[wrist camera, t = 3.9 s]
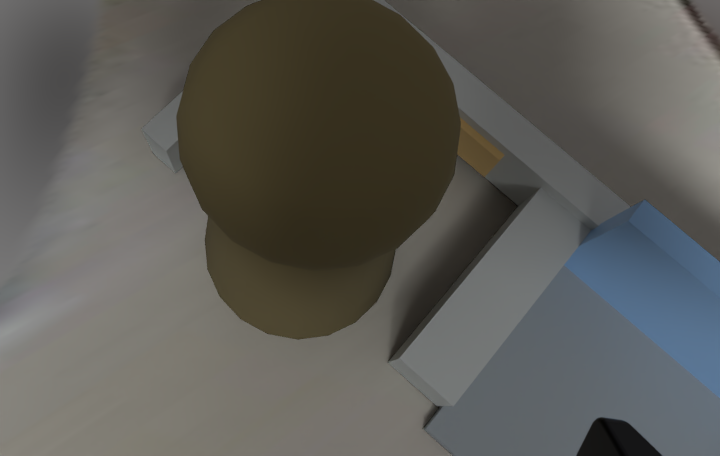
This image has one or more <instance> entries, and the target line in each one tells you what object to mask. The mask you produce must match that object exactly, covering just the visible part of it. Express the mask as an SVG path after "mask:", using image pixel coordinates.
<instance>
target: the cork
mask: <svg viewBox="0 0 720 456" xmlns="http://www.w3.org/2000/svg"><path fill="white" fill-rule="evenodd" d="M176 121H177V133H178V145H179V157H180V161H181V163H182V166H183V168H184V170H185V172H186V175H187V177H188V179H189V181H190V184H191V186H192V188H193V190H194V192H195V195H196V197H197V199H198V201H199V204H200V206H201V208H202V210H203V211H204V212H205V213H206V214H207V215H208V222H207V229H206V236H205V246H206V257H207V268H208V271H209V273H210V276H211V278H212V280H213V282H214V285H215V287H216V289H217V291H218V294H219V296H220V297H221V298H222V299H223V301H224V302H225V303H226V304H227V305H228V306H229V307H230V308H231V309H232V310H233V311H234V312H235V314H236V315H237V316H238V317H239V318H240V319H242V320H243V321H245V322H247V323H249V324H251V325H252V326H254V327H256V328H258V329H260V330H262V331H263V332H265V333H267V334H272V335H277V336H282V337H288V338H293V339H304V338H312V337H320V336H327V335H330V334H332V333H334V332H336V331H338V330H340V329H342V328H345V327H347V326H349V325H351V324H353V323H355V322H356V321H357V320H358V319H359V318H360V317H361V316H362V315H363V314H364V313H366V312H367V311H368V310H369V309H370V308H371V307H372V306H373V305H374V304H375V303H376V302H377V300H378V298H379V296H380V295H381V293H382V291H383V289H384V287H385V285H386V283H387V281H388V279H389V277H390V275H391V269H392V264H393V259H394V254H395V249H396V248H398V247H399V246H400V245H401V244H402V243H403V242H404V241H406V240H407V239H408V238H409V237H410V236H411V235H412V234H413V233H414V232H415V231H416V230H417V229H418V228H419V227H420V226H421V225H422V224H424V223H425V222H426V221H427V220H428V219H429V218H430V216H431V215H432V214H433V213H434V212H435V211H436V209H437V207H438V205H439V203H440V201H441V199H442V197H443V195H444V193H445V191H446V189H447V188H448V186H449V184H450V182H451V180H452V178H453V176H454V172H455V165H456V158H457V151H458V144H459V137H460V127H461V121H460V115H459V110H458V105H457V100H456V94H455V89H454V84H453V82H452V80H451V78H450V76H449V74H448V72H447V71H446V69H445V67H444V65H443V63H442V61H441V60H440V58H439V56H438V54H437V52H436V50H435V49H434V47H433V46H432V45H431V44H430V43H429V42H428V41H427V40H426V39H425V38H424V37H423V36H422V35H421V34H420V33H419V32H417V31H416V30H415V29H414V28H413V27H412V26H411V25H410V24H409V23H408V22H407V21H406V20H405V19H404V18H403V17H402V16H401V15H400V14H398V13H396V12H394V11H392V10H390V9H389V8H387V7H385V6H383V5H381V4H379V3H378V2H376V1H374V0H261V1H258V2H255V3H253V4H250V5H248V6H246V7H244V8H243V9H242V10H240V11H239V12H238V13H236V14H235V15H234V16H232V17H231V18H230V19H228V20H227V21H226V22H224V23H223V24H222V25H220V26H219V27H218V28H216V29H215V30H214V31H213V32H212V34H211V35H210V36H209V38H208V39H207V41H206V42H205V44H204V45H203V47H202V48H201V50H200V51H199V52H198V54H197V55H196V57H195V58H194V60H193V61H192V63H191V64H190V67H189V71H188V75H187V78H186V82H185V86H184V89H183V93H182V97H181V101H180V104H179V108H178V112H177V115H176Z"/></svg>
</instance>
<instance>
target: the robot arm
mask: <svg viewBox="0 0 720 456" xmlns="http://www.w3.org/2000/svg"><path fill="white" fill-rule="evenodd" d="M576 456H663V455H662V454H661V453H659V452H658V451H657V450H656V449H655V448H654V447H653V446H652V445H651V444H650V443H649V442H648V441H647V440H646V439H645V438H644V437H643V436H642V435H641V434H640V433H639V432H638V431H637V430H636V429H635V428H634V427H633V426H632V425H630V424H629V423H628V422H626V421H624V420H619V419H612V418H605V417H599V418H597V419H596V420H594V421H593V423H592V425H591V427H590V429H589V431H588V433H587V435H586V437H585V439H584V440H583V442H582V444H581V446H580V448H579V450H578V452H577V455H576Z"/></svg>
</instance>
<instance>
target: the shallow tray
mask: <svg viewBox="0 0 720 456" xmlns="http://www.w3.org/2000/svg"><path fill="white" fill-rule="evenodd" d="M374 1H376V2H378V3H379V4H381V5H383V6H385V7H387V8H389V9H390V10H392V11H394V12H396V13H398V14H400V13H399V12H398V11H397V10H396V9H394V8H393V7H392V6H391V5H390V4H388V3H387V2H386V1H385V0H374ZM400 15H401V16H402V17H403V18H404V19H405V20H406V21H407V22H408V23H409V24H410V25H411V26H412V27H413V28H414V29H415V30H416V31H417V32H419V33H420V34H421V35H422V36H423V37H424V38H425V39H426V40H427V41H428V42H429V43H430V44H431V45H432V46H433V47H434V49H435V50H436V52H437V54H438V56H439V58H440V60H441V61H442V63H443V65H444V67H445V69H446V71H447V72H448V74H449V76H450V78H451V80H452V82H453V84H454V89H455V94H456V100H457V105H458V110H459V115H460V121H461V127H460V137H459V144H458V151H457V154H458V155H459V156H460V157H461V158H462V159H463V160H465V161H466V162H467V163H468V164H469V165H470V166H472V167H473V168H474V169H475V170H476V171H477V172H479V173H480V174H481V175H482V176H483V177H485V178H486V179H487V180H488V181H490V182H491V183H492V184H493V185H494V186H495V187H497V188H498V189H499V190H500V191H501V192H503V193H504V194H505V195H506V196H507V197H508V198H510V199H511V200H512V201H513V202H514V203H515V204H517V205H518V207H517V208H516V209H515V211H514V212H513V213H512V214H511V215H510V217H509V218H508V219H507V220H506V221H505V223H504V224H503V225H502V226H501V227H500V229H499V230H498V231H497V232H496V233H495V235H494V236H493V237H492V238H491V239H490V241H489V242H488V243H487V244H486V245H485V247H484V248H483V249H482V250H481V251H480V253H479V254H478V255H477V256H476V257H475V259H474V260H473V261H472V262H471V263H470V264H469V266H468V267H467V268H466V269H465V270H464V272H463V273H462V274H461V275H460V276H459V278H458V279H457V280H456V281H455V282H454V284H453V285H452V286H451V287H450V288H449V290H448V291H447V292H446V293H445V294H444V296H443V297H442V298H441V299H440V300H439V302H438V303H437V304H436V305H435V306H434V308H433V309H432V310H431V311H430V312H429V314H428V315H427V316H426V317H425V318H424V320H423V321H422V322H421V323H420V324H419V326H418V327H417V328H416V329H415V330H414V332H413V333H412V334H411V335H410V336H409V338H408V339H407V340H406V341H405V342H404V344H403V345H402V346H401V347H400V348H399V350H398V351H397V352H396V353H395V354H394V356H393V357H392V358H391V359H390V360H389V362H388V363H389V364H390V365H391V366H392V367H393V368H395V369H396V370H397V371H398V372H399V373H400V374H401V375H402V376H404V377H405V378H406V379H407V380H408V381H409V382H410V383H411V384H413V385H414V386H415V387H416V388H417V389H418V390H419V391H420V392H421V393H423V394H424V395H425V396H426V397H427V398H428V399H429V400H430V401H432V402H433V403H434V404H435V405H436V406H441V407H440V408H439V409H438V411H437V412H436V413H435V414H434V416H433V417H432V418H431V419H430V421H429V422H428V423H427V425H426V426H425V427H424V428H423V429H424V430H425V431H426V432H427V433H428V434H429V435H430V436H431V437H433V438H434V439H435V440H436V441H437V442H438V443H439V444H440V445H441V446H443V447H444V448H445V449H446V450H447V451H448V452H449V453H450V454H452V455H453V456H576V455H577V452H578V450H579V448H580V446H581V444H582V442H583V440H584V439H585V437H586V435H587V433H588V431H589V429H590V427H591V425H592V423H593V421H594V420H596V419H597V418H599V417H605V418H612V419H619V420H624V421H626V422H628V423H629V424H630V425H632V426H633V427H634V428H635V429H636V430H637V431H638V432H639V433H640V434H641V435H642V436H643V437H644V438H645V439H646V440H647V441H648V442H649V443H650V444H651V445H652V446H653V447H654V448H655V449H656V450H657V451H658V452H659V453H661V454H662V455H663V456H720V262H719V261H718V260H717V259H716V258H714V257H713V256H712V255H711V254H710V253H708V252H707V251H706V250H705V249H704V248H702V247H701V246H700V245H699V244H698V243H696V242H695V241H694V240H693V239H692V238H690V237H689V236H688V235H687V234H686V233H684V232H683V231H682V230H681V229H680V228H678V227H677V226H676V225H675V224H674V223H672V222H671V221H670V220H669V219H668V218H666V217H665V216H664V215H663V214H662V213H660V212H659V211H658V210H657V209H656V208H654V207H653V206H652V205H651V204H650V203H648V202H647V201H646V200H643V201H641V202H639V203H637V204H635V205H634V206H632V207H631V206H630V205H628V204H627V203H626V202H625V201H624V200H622V199H621V198H620V197H619V196H618V195H616V194H615V193H614V192H613V191H612V190H610V189H609V188H608V187H607V186H606V185H604V184H603V183H602V182H601V181H600V180H598V179H597V178H596V177H595V176H594V175H593V174H591V173H590V172H589V171H588V170H587V169H585V168H584V167H583V166H582V165H581V164H579V163H578V162H577V161H576V160H575V159H573V158H572V157H571V156H570V155H569V154H567V153H566V152H565V151H564V150H563V149H561V148H560V147H559V146H558V145H557V144H556V143H554V142H553V141H552V140H551V139H550V138H548V137H547V136H546V135H545V134H544V133H542V132H541V131H540V130H539V129H538V128H536V127H535V126H534V125H533V124H532V123H530V122H529V121H528V120H527V119H526V118H524V117H523V116H522V115H521V114H520V113H519V112H517V111H516V110H515V109H514V108H513V107H511V106H510V105H509V104H508V103H507V102H505V101H504V100H503V99H502V98H501V97H499V96H498V95H497V94H496V93H495V92H493V91H492V90H491V89H490V88H489V87H487V86H486V85H485V84H484V83H483V82H482V81H480V80H479V79H478V78H477V77H476V76H474V75H473V74H472V73H471V72H470V71H468V70H467V69H466V68H465V67H464V66H462V65H461V64H460V63H459V62H458V61H456V60H455V59H454V58H453V57H452V56H450V55H449V54H448V53H447V52H446V51H444V50H443V49H442V48H441V47H440V46H439V45H437V44H436V43H435V42H434V41H433V40H431V39H430V38H429V37H428V36H427V35H425V34H424V33H423V32H422V31H421V30H419V29H418V28H417V27H416V26H415V25H413V24H412V23H411V22H410V21H409V20H407V19H406V18H405V17H404V16H403V15H402V14H400ZM182 93H183V91H182V92H181V93H180V94H179V95H178V96H177V97H175V98H174V99H173V100H172V101H171V102H170V103H169V104H168V105H167V106H166V107H165V108H163V109H162V110H161V111H160V112H159V113H158V114H157V115H156V116H155V117H154V118H152V119H151V120H150V121H149V122H148V123H147V124H146V125H145V126H144V127H143V128H141V129H142V131H143V134H144V136H145V138H146V140H147V142H148V144H149V146H150V148H151V150H152V152H153V154H154V155H156V156H157V157H158V158H159V159H160V160H161V161H162V162H163V163H165V164H166V165H167V166H168V167H169V168H170V169H171V170H172V171H174V172H175V173H177V172H178V171H179V170H180V169H181V168H182V167H183V166H182V163H181V161H180V157H179V145H178V133H177V121H176V115H177V112H178V108H179V104H180V101H181V97H182Z"/></svg>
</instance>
